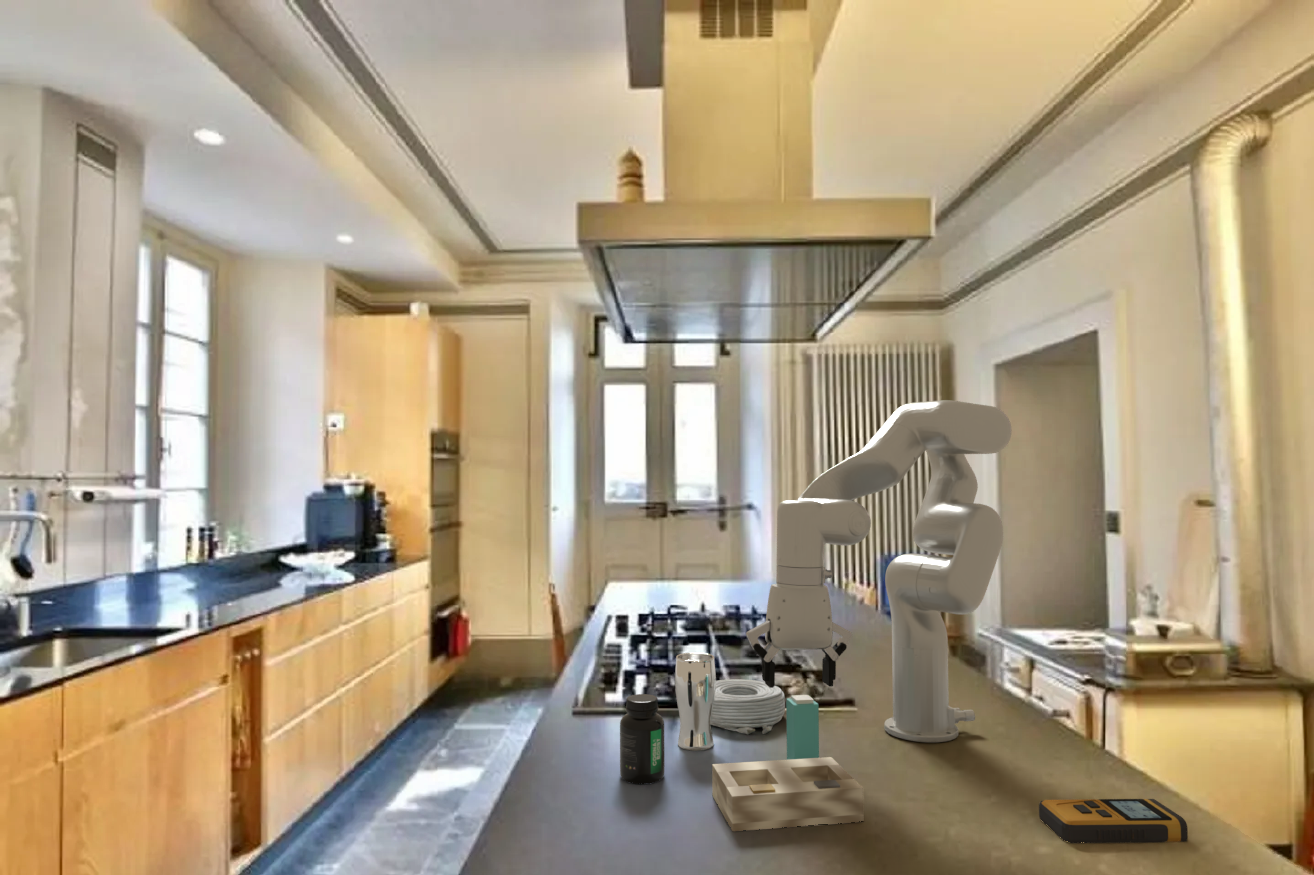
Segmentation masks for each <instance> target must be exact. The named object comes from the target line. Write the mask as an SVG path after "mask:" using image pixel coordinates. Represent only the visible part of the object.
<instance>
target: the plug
mask: <svg viewBox="0 0 1314 875" xmlns="http://www.w3.org/2000/svg"><path fill="white" fill-rule="evenodd" d="M819 708H820V707H819V703H818V702H816V701H815V700H814V699H813V698H812V697H811V696H810V695H809V694H796V695H793V694H792V695H790V697H789V698H785V710H786V711H785V712H786V760H790V759H806V758H820V726H819V725H820V724H819V723H820V721H819V720H820V719H819V718H820V716H819V715H820V714H819Z"/></svg>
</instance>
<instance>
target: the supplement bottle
mask: <svg viewBox="0 0 1314 875" xmlns="http://www.w3.org/2000/svg"><path fill="white" fill-rule="evenodd" d="M658 702H659V701H658V697H657V696H656V695H653V694H649V693H648V694H645V693H641V694H640V693H639V694H638V693H637V694H632V695H629V696H627V697H626V702H625V704H626V706H625V712H627V713H626V714H624V715H623V716H622V717H621V719H620V722H619V773H620V774H619V775H620V777H621V779H622V780H623V781H624V782H626V783H629V784H632V785H651V784H650V783H652V784H655V783H657V782H660V781H661V780H662V779H663V778H664V777H665V764H666V763H665V760H666V759H665V721H664V718H663V717H662V715H660V714H659V713H657V712H658V711H659V706H658V705H659V704H658Z"/></svg>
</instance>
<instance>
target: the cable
mask: <svg viewBox="0 0 1314 875" xmlns="http://www.w3.org/2000/svg"><path fill="white" fill-rule="evenodd" d="M785 710H786V698H785V693H784V691H782V689H781V688H780V687H779V686H777V685H775V686H774V687H773V688H770V687H769V686H767V685H766V684H765V681H760V680H755V679H753V680H752V679H740V678H739V679H738V678H737V679H735V678H734V679H731V678H730V679H728V678H727V679H720V680H716V689H715V698H714V704H713V710H712V717H711V726H714V727H718V728H721V729H724V730H727V731H728V730H729V731H731V732H737V733H740V734H745V735H750V734H751V733H754V732H755V731H756V728H762V731H761V733H762V735H766V734H768V733H769V732H770V731H772V728H773V727H774V725H776V724H777V723H779V722H780V721H781V720H782V718H783V716H784V715H785V712H786V711H785Z"/></svg>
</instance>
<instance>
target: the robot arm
mask: <svg viewBox="0 0 1314 875" xmlns="http://www.w3.org/2000/svg"><path fill="white" fill-rule="evenodd" d="M1012 432H1013V431H1012V424H1011V421H1010V419H1009V417H1008V416H1007V414H1006V413H1005V412H1004V411H1003V410H1001V409H1000V408H998V407H996V406H992V405H987V404H985V405H984V404H978V403H972V402H967V401H961V400H960V401H959V400H949V399H944V400H943V399H941V400H930V401H929V400H928V401H917V402H915V401H914V402H910V403H905V404H902V405H901V406H899V407H898V408H896V409H895V410H894V412H893V413H892V414H891V415H890V416H889V417H888V418H887V419H886V421H884V423H883V424H882V425H881V427H880V428H879V429H878V430H877V431H876V432H875V433H874V435H873V436H872V437H871V438H870V439H869V440H868V442H867V443H866V444H865V445H864V446H863V447H862V449H861V450H860V451H858V452H857V453H855V454H853V455H851V456H849V457H848V458H847V457H846V458H845V459H844V460H842V461H841V462H839V463H837V464H835V466H832V467H831V468H829V469H828V470H826V471H825V472H823V473H821V474H820V475H819V476H817V477H816V478H815V479H814V480H812V482H811V483H810V484H809V485H808V486H807V487H806V488H805V490H804V491H803V492H802V493H800V495H799V496H798V498H797V499H794V500H793V499H791V500H790V499H788V500H783V501H781V502H779V504H778V506H777V510H776V515H777V516H776V573H775V574H776V576H775V577H776V583H773V584H771V586H770V589H769V593H768V599H767V605H766V606H767V607H766V614H765V616H766V618H765V621H764V622H762V623H760V624H758V625H757V626H755V627H753V628H751V629H749V630H747V631H746V632H745V636H746V638H747V640H748V643H749V645H750V646H751V649H752V650H753V651H754V652H755V653H756V654H757V655H758V656H759V657H760V659H761V661H762V662H761V667H762V668H761V678H762V682H765V684H766V685H767V686H769V687H770V688H773V687H774V686H776V685H775V681H776V680H775V679H776V677H775V676H776V675H775V673H776V672H775V671H776V669H775V668H776V664H775V662H774V661H773V658H774V657H776V655H777V654H778V652H780V650H783V651H790V650H791V651H797V650H798V651H799V650H801V651H805V650H806V651H808V650H809V651H811V650H817V651H818V650H821V651H822V652H823V654H824V657H822V660H821V661H822V664H821V665H822V666H821V667H822V668H821V669H822V672H821V674H822V677H821V678H822V680H821V681H822V683H824V684H825V685H826V686H828V687H834V681H835V680H836V677H837V676H836V675H837V674H836V673H837V661H839V659H840V656H841V655H842V654H843V653H844V652H845V651H846V650H847V646H848V645H849V643H850V641H851V639H852V637H853V633H852V632H851V631H850V630H848V629H847V628H844V627H842V626H841V625H838V624H837V623H835V622H834V621H833V615H832V614H833V613H832V607H831V606H832V605H831V599H830V598H831V597H830V593H829V589H828V586H827V585H825V583H826V580H827V579H832V578H833V571H832V570H831V569H827V568H826V566H825V545H826V544H829V545H836V546H853V545H856V544H859V543H860V542H862V541H863V540H865V539H866V538H867V536H868V535H869V533H870V530H871V524H872V520H871V516H870V514H869V511H868V510H867V509H866V508H865V507H864V506H863V505H862V504H861V503H859V502H857V501H854V500H857V499H859V498H861V497H865V496H869V495H872V494H875V493H879V492H883V491H885V490H888V489H890V488H892V487H895V486H896V485H897V484H899V483H900V482H901V481H902V480H903V479H904V477H905V476H906V474H908V472H909V471H910V470H911V469H912V467H913V466H914V465H915V463H916V462H917V461H918V459H919V458H920V457H922V455H923V453H925V452H926V455H927V458H928V461H929V465H930V470H931V471H930V472H931V474H930V481H929V484H928V486H927V490H926V492H925V494H924V497H923V500H922V502H921V505H920V507H919V510H918V512H917V515H916V518H915V521H914V524H913V527H912V528H913V529H912V540H913V542H914V544H915V545H916V546H917V547H918V548H920V549H921V550H923V551H925V552H927V553H928V552H929V553H931V554H926V553H925V554H924V553H904V554H902V555H899V556H896V557H894V558H893V560H891V561H890V563H889V564H888V566H887V568H886V571H885V576H884V580H885V581H884V582H885V589H886V595H887V599H888V603H889V610H890V611H889V612H890V617H891V618H890V619H891V651H892V652H891V653H892V654H891V655H892V656H891V659H892V660H891V661H892V662H891V663H892V665H891V666H892V668H891V669H892V673H891V674H892V717H890V718H889V717H888V718H887V719H886V720H884V726H883V728H884V730H885V731H886V733H887V734H889V735H891V736H893V737H896V738H899V739H902V740H906V741H911V742H917V743H919V742H920V743H944V742H949V741H952V740H955V739H956V738H958V736H959V727H958V726H957V724H958V723H959V722H974V721H975V720H976V713H975V711H974V710H973V709H963V710H961V708H960V707H952V706H950V704H949V653H948V652H949V650H948V648H949V646H948V642H949V641H948V632H947V631H948V630H947V628H946V627H947V626H946V624H945V622H944V619H943V617H942V615H941V613H946V614H947V613H948V614H954V615H969V614H971V613H973V612H975V611H976V610H977V609H978V608H979V606H980V605H981V603H982V602H983V600H984V597H985V595H986V593H987V590H988V587H989V584H990V582H991V579H992V575H993V572H994V570H995V567H996V564H997V562H998V559H999V556H1000V553H1001V549H1002V545H1003V540H1004V527H1003V522H1002V520H1001V519H1002V518H1001V516H1000V515H999V513H998V512H997V511H996V510H995V509H994V508H993V507H991V506H990V505H989V506H988V505H987V504H983V503H982V504H981V503H976V502H975V499H976V495H977V493H978V488H979V486H978V478H977V476H976V474H975V471H974V470H973V468H972V467H971V465H970V463H969V461H968V460H967V458H966V455H992V454H997V453H1000V452H1001V451H1003V450H1004V449H1005V448H1006V447H1007V446H1008V444H1009V442H1010V441H1011V437H1012ZM974 502H975V503H974ZM934 554H939V555H934ZM940 555H949V557H948V556H940ZM951 556H952V557H951ZM940 612H941V613H940ZM833 632H834V633H836V634H838V635H839V638H838V641H837V642H836V643H835V644H834V645H833V646H832V644H833V637H834V636H833ZM762 635H764V636H765V637H764V638H765V641H766V644H765V646H764V647H763V646H762V645H761V644H760V642H759V640H758V639H759V637H761V636H762Z"/></svg>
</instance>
